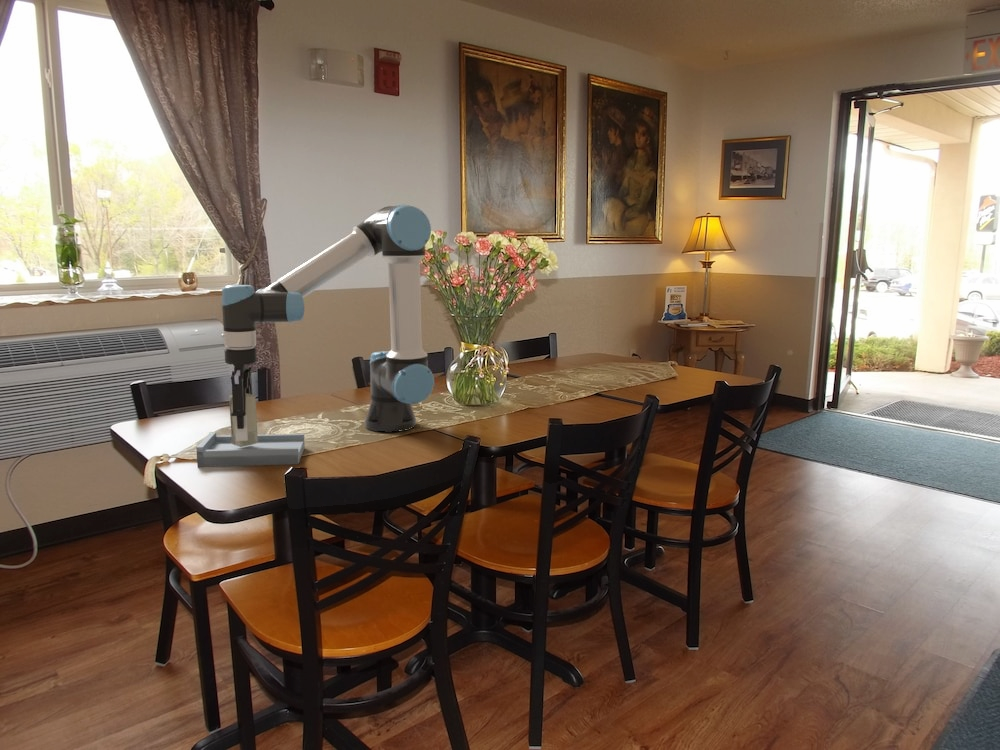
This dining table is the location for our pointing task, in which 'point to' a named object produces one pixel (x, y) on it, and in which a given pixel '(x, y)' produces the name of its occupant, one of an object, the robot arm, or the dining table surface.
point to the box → (250, 422)
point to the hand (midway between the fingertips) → (244, 436)
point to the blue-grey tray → (250, 451)
